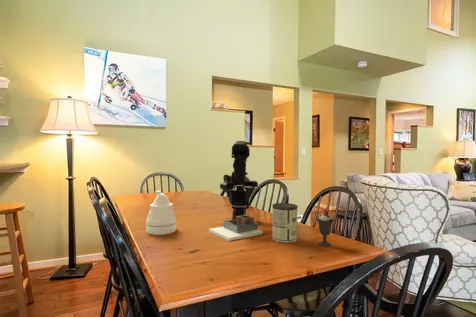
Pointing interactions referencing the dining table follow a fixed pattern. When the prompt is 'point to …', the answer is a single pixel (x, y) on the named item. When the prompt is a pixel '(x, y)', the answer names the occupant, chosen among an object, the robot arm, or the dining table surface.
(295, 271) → the dining table surface
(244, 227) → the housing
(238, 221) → the hollow wooden box
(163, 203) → the honey pot
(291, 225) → the coffee can
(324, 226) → the sundae
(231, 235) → the base board
